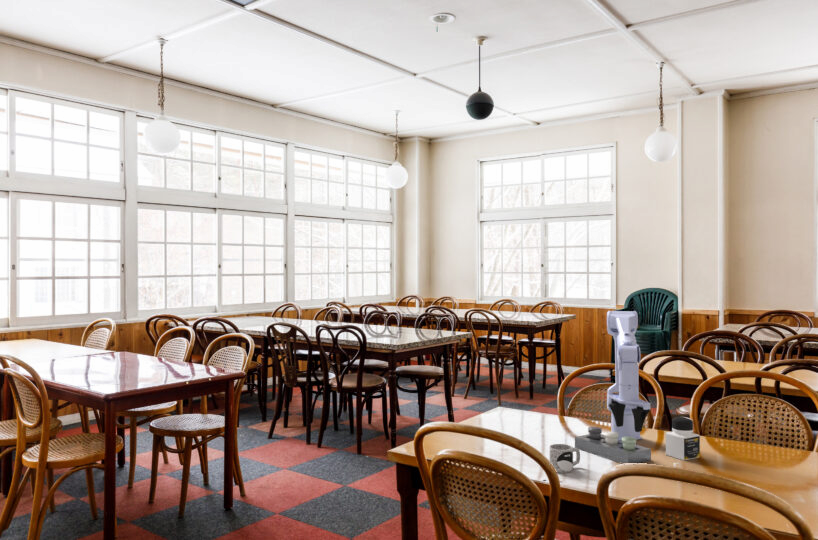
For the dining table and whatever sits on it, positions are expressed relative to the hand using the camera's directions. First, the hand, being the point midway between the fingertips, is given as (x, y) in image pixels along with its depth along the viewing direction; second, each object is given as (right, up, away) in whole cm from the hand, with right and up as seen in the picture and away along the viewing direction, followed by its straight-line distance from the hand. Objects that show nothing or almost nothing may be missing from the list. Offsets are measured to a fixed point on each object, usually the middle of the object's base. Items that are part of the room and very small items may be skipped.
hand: (628, 428), depth 194 cm
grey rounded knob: (-7, -7, +12) cm, 16 cm away
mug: (-22, -10, -9) cm, 25 cm away
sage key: (0, -7, 0) cm, 7 cm away
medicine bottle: (+18, -10, +3) cm, 20 cm away
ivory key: (-3, -7, +6) cm, 10 cm away
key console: (-3, -9, +6) cm, 12 cm away
